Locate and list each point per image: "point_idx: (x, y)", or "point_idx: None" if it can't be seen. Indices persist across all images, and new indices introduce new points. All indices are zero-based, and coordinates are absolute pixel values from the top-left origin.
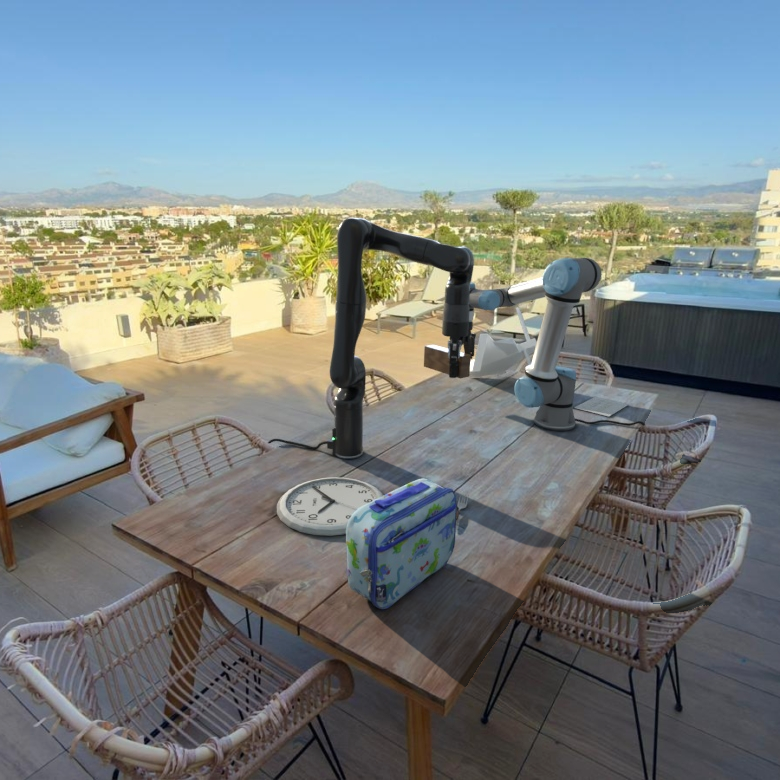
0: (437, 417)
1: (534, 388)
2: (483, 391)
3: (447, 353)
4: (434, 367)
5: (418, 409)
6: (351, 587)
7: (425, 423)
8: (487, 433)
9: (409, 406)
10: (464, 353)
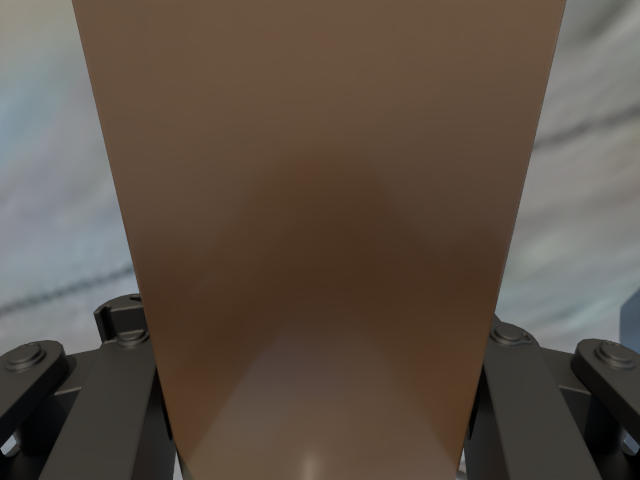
0: (94, 265)
1: None
2: (629, 103)
3: (112, 113)
4: None
5: (57, 121)
6: None
7: (5, 287)
8: (176, 454)
9: (26, 41)
10: (438, 424)
